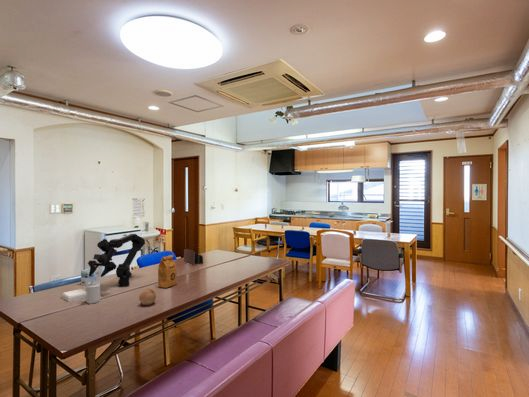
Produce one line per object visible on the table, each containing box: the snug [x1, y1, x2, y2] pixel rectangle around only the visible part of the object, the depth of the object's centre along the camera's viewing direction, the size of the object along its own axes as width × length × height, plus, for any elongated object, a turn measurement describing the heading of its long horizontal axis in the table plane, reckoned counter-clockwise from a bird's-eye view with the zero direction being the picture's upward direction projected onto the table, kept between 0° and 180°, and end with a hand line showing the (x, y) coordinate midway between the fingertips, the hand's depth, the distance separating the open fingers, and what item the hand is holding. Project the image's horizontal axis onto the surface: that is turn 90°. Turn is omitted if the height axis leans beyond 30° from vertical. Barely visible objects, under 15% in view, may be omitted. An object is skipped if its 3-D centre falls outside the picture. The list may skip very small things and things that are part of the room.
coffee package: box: [157, 254, 178, 289], centre depth 217 cm, size 10×12×22 cm
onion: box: [138, 288, 157, 306], centre depth 181 cm, size 10×9×10 cm
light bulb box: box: [80, 267, 100, 287], centre depth 224 cm, size 11×7×11 cm, turn 168°
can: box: [85, 281, 101, 305], centre depth 185 cm, size 8×8×12 cm
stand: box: [61, 288, 86, 302], centre depth 194 cm, size 12×12×3 cm
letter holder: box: [183, 248, 204, 266], centre depth 290 cm, size 10×20×14 cm, turn 44°
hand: (95, 276), depth 193 cm, fingers open, 9 cm apart
